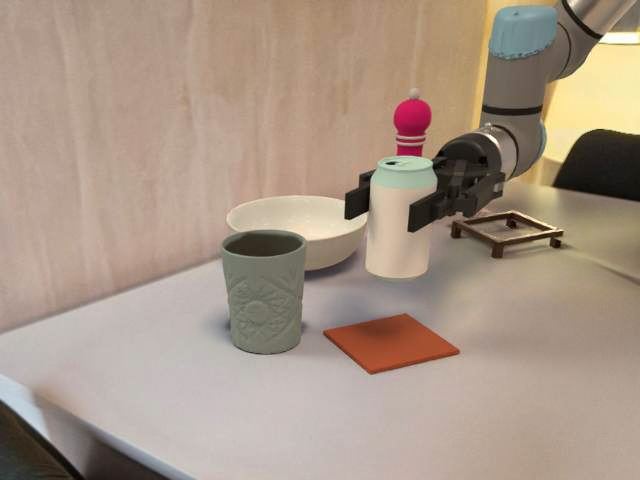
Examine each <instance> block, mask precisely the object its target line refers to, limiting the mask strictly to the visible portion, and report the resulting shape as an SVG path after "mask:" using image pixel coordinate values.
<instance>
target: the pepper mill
mask: <svg viewBox="0 0 640 480" xmlns="http://www.w3.org/2000/svg"><path fill="white" fill-rule="evenodd" d="M420 97H421V90H420V89H419V88H418V87H414V88H411V89H410V90H409V93H408V98H409V99H406V100H404V101H402V102H400V104H398V105H397V106H396V108H395V110H394V113H393V126H394V127H395V129H396V130H397V132H396V133H395V139H394V143H395V144H396V156H416V157H422V158H423V150H424V145H425V144H426V143H427V137H428V134H427V133H426V131H427V130H428V128H429V127H430V126H431V124H432V119H433V112H432V108H431V106H430V105H429V104H428V102H426V101H424V100H422V99H420Z"/></svg>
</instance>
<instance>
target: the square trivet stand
mask: <svg viewBox="0 0 640 480" xmlns="http://www.w3.org/2000/svg"><path fill="white" fill-rule="evenodd" d="M505 219H506V220H505ZM514 219H515V220H514ZM500 220H505V221H506V222H505V227H506V226H508V227H510V228H509V229H512V228H511V227H514V228H517V223H518V221H519V222H522V223H525V224H526V225H529V226H531V227H533V228H535V229H539V230H540V231H539V232H533V233H529V234H527V233H526V234H522V235H517V236H511V237H506V238H498V237H496V236H494V235H491V234H490V233H487V232H485V231H483V230H481V229H479V228H478V227H474V226H473V225H476V224H477V225H479V224H484V223H488V222H494V221H500ZM516 220H517V221H516ZM508 227H507V228H508ZM450 229H451V230H450V237H451V238H453V239H458V237H459V238H462V231H463V232H465V233H466V234H469V235H471V236H473V237H476V238H478V239H479V240H482V241H483V242H486V243H488V244H490V245H492V251H491V256H492V257H491V258H493V257H494V258H493V259H495V258H499V259H502V258H503V257H504V250H505V247H507V246H508V247H509V246H514V245H518V244H524V243H528V242H529V243H530V242H535V241H539V240H544V239H545V240H546V239H549V243H548V246H549V247H551V248H552V249H555V248H560V247H561V245H562V240H561V239H557V238H561V237H564V236H563V235H564V230H563V229H562V228H558V227H555V226H553V225H550V224H548V223H546V222H543V221H541V220H538V219H536V218H533V217H532V216H529V215H526V214H525V213H521V212H519V211H518V210H515V209H511V210H507V211H501V212H496V213H490V214H484V215H478V216H473V217H470V218H466V217H465V218H461V219H460V218H459V219H454V220H452V221H451V228H450Z"/></svg>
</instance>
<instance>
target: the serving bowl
mask: <svg viewBox="0 0 640 480" xmlns="http://www.w3.org/2000/svg"><path fill="white" fill-rule="evenodd" d="M344 211H345V199H344V200H343V199H339V198H334V197H328V196H319V195H295V194H294V195H281V196H272V197H271V196H270V197H263V198H259V199H255V200H250V201H247V202H245V203H241V204H239V205H238V206H236V207H234V208H232V209H231V210H230V211H229V212H228V213H227V216H226V221H225V222H226V226H227V232H228V235H229V236H231V235H233V234H236V233H240V232H245V231H251V230H267V229H271V230H284V231H290V232H294V233H297V234H300V235H301V236H303V237H304V238H305V239H306V241H307V249H306V261H305V271H304V272H306V271H307V272H308V271H316V270H321V269H325V268H328V267H331V266H334V265H337V264H339V263H341V262H343V261H344V260H346V259H347V258H349V257H350V256H352V255H353V254H354V252H355V251H356V250H357V249H358V247H359V246H360V245H361V243H362V241H363V239H364V236H365V235H366V231H367V227H368V217H369V215H368V214H367V212H366V213H364V214H362V215H360V216H358V217H356V218H354V219H352V220H345V219H344Z"/></svg>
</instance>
